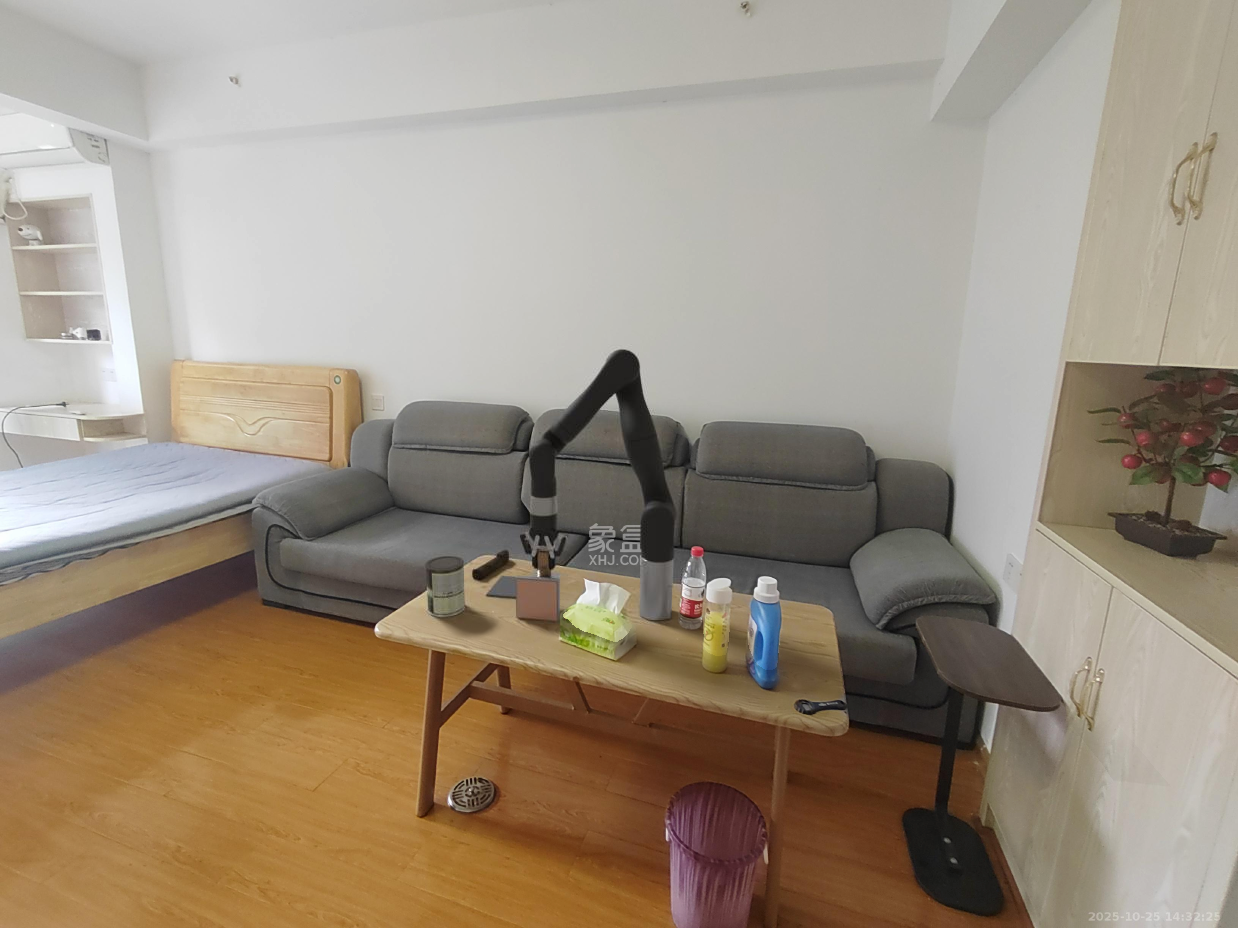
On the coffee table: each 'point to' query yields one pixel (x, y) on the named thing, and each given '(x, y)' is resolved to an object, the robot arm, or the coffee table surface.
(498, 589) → the rest mat
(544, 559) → the brown post on base
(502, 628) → the coffee table surface
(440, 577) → the coffee can
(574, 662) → the coffee table surface
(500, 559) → the dark brown bar
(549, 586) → the tile
